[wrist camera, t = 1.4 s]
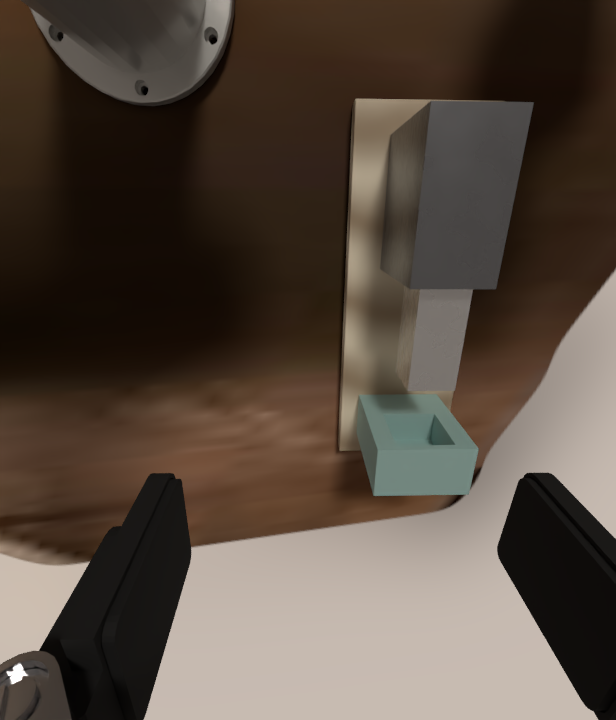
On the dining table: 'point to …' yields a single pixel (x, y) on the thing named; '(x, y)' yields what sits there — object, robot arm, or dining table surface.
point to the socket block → (414, 446)
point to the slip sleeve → (452, 193)
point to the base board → (371, 268)
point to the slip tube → (432, 338)
